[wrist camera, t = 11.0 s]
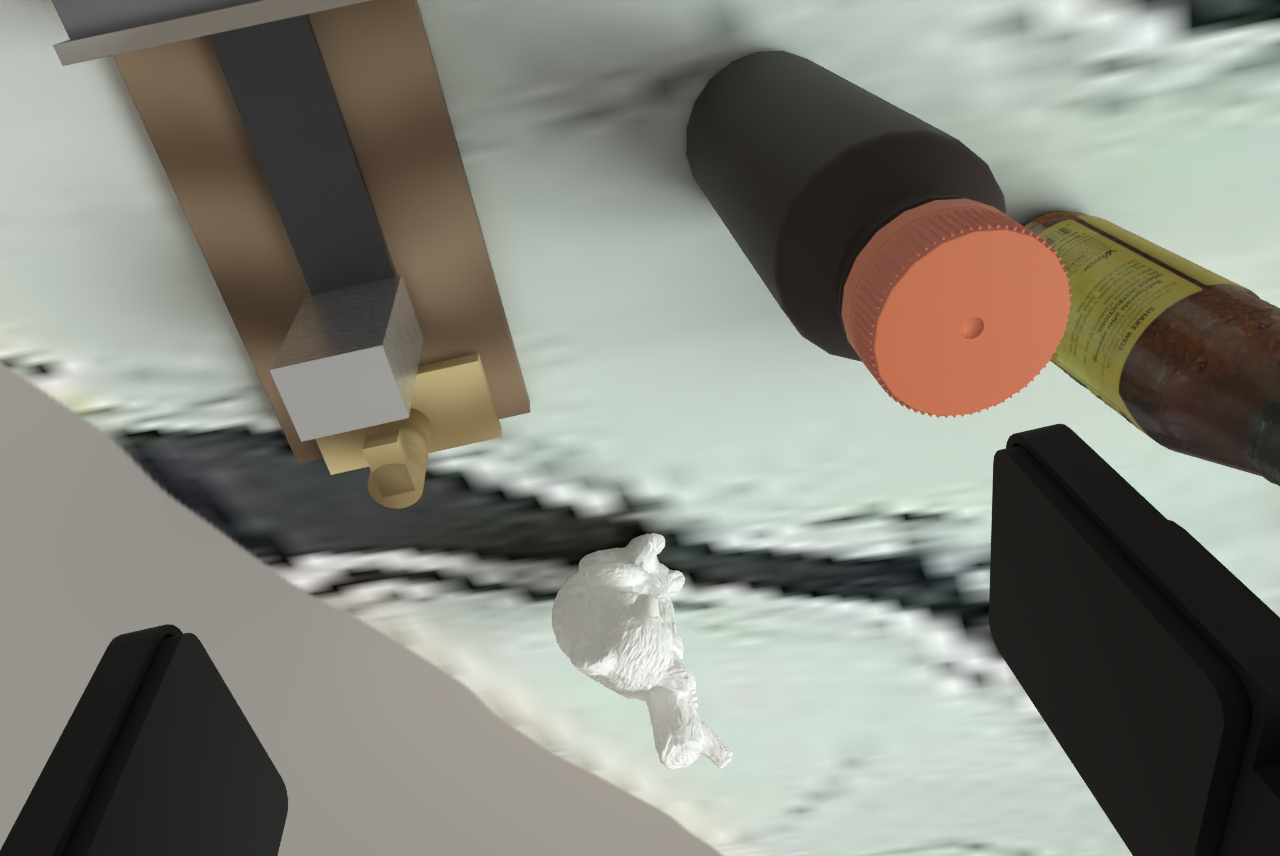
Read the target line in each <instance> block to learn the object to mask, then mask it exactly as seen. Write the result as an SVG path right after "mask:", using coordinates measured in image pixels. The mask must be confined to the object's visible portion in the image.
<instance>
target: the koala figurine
mask: <svg viewBox="0 0 1280 856" xmlns="http://www.w3.org/2000/svg"><path fill="white" fill-rule="evenodd" d="M664 546H665V539H664V537H663V536H662V535H660V534H654V533H652V534H644V535H641V536H638V537H636V538H634V539H632V540H631V541H630V542H629V544H628V545H627V546H626V547H624V548H612V549H606V550H598V551H596V552H593V553H590V554H587V555H586V556H585V557H583V558H582V559H581V560H580V562H579V571H578V572H577V573H575V574H574V575H573V576H572V577H570V578H569V579H568V580H567V582H566V583H565V584H564V585H563V586H562V587H561V589H560V590H559V591H558V594H557V597H556V599H555V602H554V606H553V610H552V611H553V612H552V627H553V630H554V633H555V635H556V640H557V643H558V644H559V646H560V648H561V649H562V651H563V652H564V653H565V654H566V655H567V656H568V657H569V658H570V659H571V662H572V664H573V665H574V666H575V667H576V668H577V669H578V670H579V671H581V672H583V673H585V674H586V675H587V676H589V677H591V678H592V679H593V680H595V681H597V682H600V683H601V684H603V685H604V686H605V687H608V688H609V689H611V690H613V691H614V692H616V693H618V694H620V695H623V696H624V697H626V698H634V699H639V700H642V701H646V702H647V706H648V708H649V713H650V718H651V723H652V726H653V732H654V733H653V734H654V741H655V747H656V749H657V752H658V754H659V759H660V762H661V763H662V764H663V763H664V765H665V766H666V767H667V768H669V769H677V768H682V767H687V766H689V765H691V764H692V763H693V762H694V761H695V760H697V758H698V756H699V755H700V753H701V754H703V755H705V756H706V757H708V758H709V759H710V760H711V761H712V762H713V763H714V764H715V765H717V766H718V768H723V767H724V766H725V765H727V764H728V762H730V761H731V759H732V757H731V755H732V751H731V750H729V749H728V748H727V747H726V746H725V745H724V743H723V742H722V740H721V739H720V738H719V736H718V735H717V734H716V733H715V732H713V731H712V729H711V728H710V727H709V726H708V725H707V724H706V723H705V722H702V721H701V720H700V719H699V718H698V715H697V713H696V708H697V707H698V703H697V702H695V701H696V700H697V699H698V697H697V696H696V695H694V694H695V693H696V689H695V688H696V682H695V678H694V676H693V675H692V674H691V672H690V671H689V669H687V668H686V665H685V662H684V660H683V649H684V647H683V644H682V640H681V639H680V638H679V637H678V636H677V634H676V623H675V618H674V609H673V604H672V602H671V598H670V594H671V593H675V592H678V591H680V590H681V588H682V586H683V584H684V582H685V577H684V576H683V574H682V573H681V572H680V571H676V570H669V569H668V568H667V567H666V566H665V565H663V564H661V563H659V561H658V558H657V556H656V555H657V554H658V553H660V552H661V551H662V549H663V548H664Z"/></svg>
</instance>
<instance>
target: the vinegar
mask: <svg viewBox="0 0 1280 856" xmlns="http://www.w3.org/2000/svg"><path fill="white" fill-rule="evenodd" d="M686 155H687V158H688V161H689V164H690V168H691V171H692V174H693V177H694V179H695V181H696V182H697V184H698V185H699V187H700V188H701V190H702V191H703V193H704V194H705V196H706V197H707V199H708V200H709V202H710V203H711V205H712V206H713V208H714V209H715V211H716V212H717V213H718V215H719V216H720V218H721V219H722V221H723V222H724V224H725V225H726V227H727V228H728V230H729V231H730V233H731V234H732V236H733V237H734V239H735V240H736V242H737V243H738V245H739V246H740V248H741V249H742V251H743V252H744V254H745V255H746V256H747V258H748V259H749V261H750V262H751V264H752V265H753V267H754V268H755V270H756V271H757V273H758V274H759V276H760V277H761V279H762V280H763V282H764V283H765V285H766V286H767V288H768V289H769V291H770V292H771V294H772V295H773V297H774V298H775V299H776V301H777V302H778V304H779V305H780V307H781V308H782V310H783V311H784V313H785V314H786V315H787V317H788V318H789V319H790V321H791V322H792V323H793V325H794V326H795V327H796V329H797V330H798V332H799V333H800V334H801V335H802V336H803V337H804V338H806V339H807V340H809V341H810V342H812V343H814V344H815V345H817V346H818V347H820V348H821V349H823V350H824V351H826V352H827V353H829V354H832V355H836V356H840V357H844V358H849V359H853V360H857V361H861V362H863V363H864V364H865V366H866V367H867V368H868V370H869V371H870V372H871V374H872V375H873V376H874V377H875V379H876V380H877V381H878V383H879V384H880V385H881V387H882V388H883V389H884V390H885V392H887V393H888V395H889V396H890V397H893V399H894V400H895V401H896V402H898V401H899V403H900V404H901V405H902V406H904V405H905V406H906V407H907V408H908V409H909V410H910V409H911V408H912V409H913V410H914V411H915V413H917V412H918V411H920V412H921V413H922V415H924V414H925V413H928V414H929V416H930V417H931V416H932V415H933V414H935V415H936V416H937V417H938V418H939V417H940V416H945V417H946V418H947V417H948V416H949V415H952V416H953V417H954V418H955V417H956V415H962V417H963V416H964V414H970V415H972V413H974V412H977V411H978V412H979V413H980V410H982V409H985V408H986V409H987V410H988V409H989V407H991V406H996V405H997V404H999V403H1001V402H1004V400H1005V399H1007V398H1008V397H1011V398H1012V395H1013V394H1015V393H1016V392H1018V393H1019V392H1020V391H1019V390H1021V389H1022V388H1024V387H1027V384H1028V383H1029V382H1030V381H1033V380H1034V379H1033V378H1034V377H1035V376H1036V375H1037V374H1040V371H1041V370H1042V369H1043V367H1046V366H1045V365H1046V364H1047V363H1048V362H1049V360H1051V356H1052V355H1053V353H1056V351H1055V349H1056V348H1057V346H1058V345H1060V343H1059V342H1060V340H1061V339H1062V337H1064V330H1065V329H1067V327H1066V322H1067V321H1069V320H1070V319H1069V318H1068V314H1069V313H1070V312H1071V311H1070V305H1071V304H1072V302H1070V299H1069V297H1071V296H1072V294H1071V293H1069V289H1070V288H1072V287H1071V286H1070V285H1068V281H1069V280H1070V278H1068V277H1067V276H1066V274H1067V273H1068V271H1067V270H1065V269H1064V268H1063V267H1064V266H1065V264H1064V263H1062V262H1061V261H1060V260H1061V257H1060V256H1058V255H1057V254H1056V253H1057V251H1055V250H1054V249H1052V248H1051V247H1052V246H1051V245H1050V244H1048V243H1047V242H1046V240H1044V239H1043V238H1041V237H1039V236H1038V235H1037V234H1035V233H1034V232H1032V231H1030V230H1029V229H1027V228H1026V227H1024V226H1023V225H1021V224H1019V223H1018V222H1016V221H1015V220H1013V219H1011V218H1010V217H1008V216H1007V215H1006V208H1005V201H1004V195H1003V193H1002V191H1001V189H1000V187H999V185H998V183H997V181H996V180H995V178H994V176H993V174H992V172H991V170H990V168H989V166H988V164H987V163H985V162H984V161H983V160H982V159H981V158H980V157H978V156H977V155H976V154H975V153H974V152H972V151H971V150H970V149H969V148H968V147H966V146H965V145H964V144H963V143H961V142H960V141H959V140H958V139H956V138H954V137H952V136H950V135H948V134H946V133H945V132H943V131H941V130H939V129H937V128H935V127H933V126H932V125H930V124H928V123H926V122H924V121H922V120H920V119H918V118H917V117H915V116H913V115H911V114H909V113H907V112H905V111H904V110H902V109H900V108H898V107H896V106H894V105H892V104H890V103H889V102H887V101H885V100H883V99H881V98H879V97H877V96H876V95H874V94H872V93H870V92H868V91H866V90H864V89H862V88H861V87H859V86H857V85H855V84H853V83H851V82H849V81H848V80H846V79H844V78H842V77H840V76H838V75H836V74H834V73H833V72H831V71H829V70H827V69H825V68H823V67H821V66H820V65H818V64H816V63H814V62H812V61H810V60H808V59H806V58H803V57H800V56H797V55H794V54H791V53H788V52H784V51H774V52H756V53H754V54H751V55H749V56H746V57H743V58H741V59H738V60H736V61H733V62H731V63H730V64H729V65H728V66H726V67H725V68H724V69H723V70H721V71H720V72H719V73H718V74H716V75H715V76H714V77H713V78H712V79H710V81H709V82H708V84H707V85H706V87H705V88H704V90H703V91H702V93H701V94H700V96H699V97H698V98H697V100H696V101H695V104H694V107H693V110H692V113H691V116H690V119H689V123H688V126H687V148H686Z"/></svg>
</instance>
